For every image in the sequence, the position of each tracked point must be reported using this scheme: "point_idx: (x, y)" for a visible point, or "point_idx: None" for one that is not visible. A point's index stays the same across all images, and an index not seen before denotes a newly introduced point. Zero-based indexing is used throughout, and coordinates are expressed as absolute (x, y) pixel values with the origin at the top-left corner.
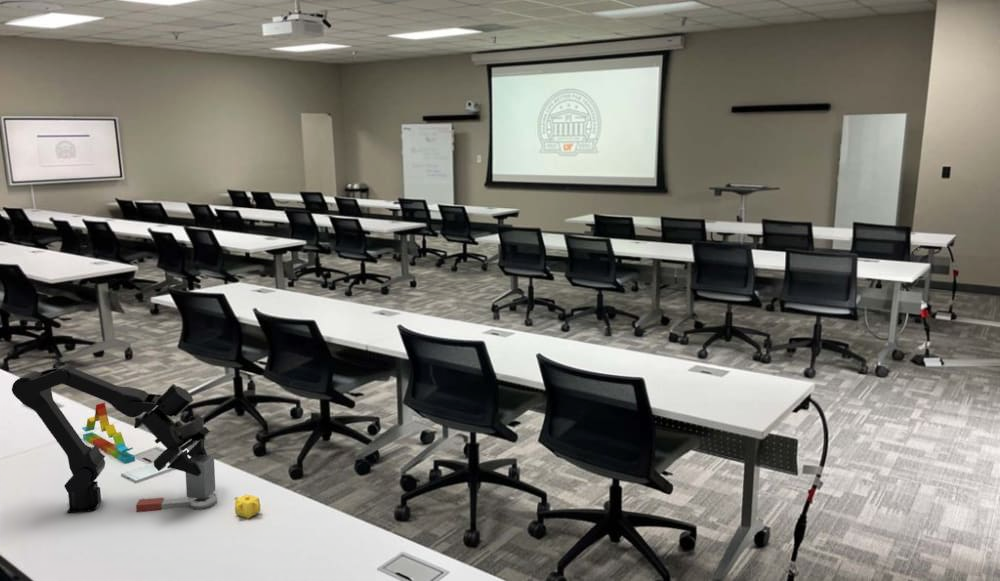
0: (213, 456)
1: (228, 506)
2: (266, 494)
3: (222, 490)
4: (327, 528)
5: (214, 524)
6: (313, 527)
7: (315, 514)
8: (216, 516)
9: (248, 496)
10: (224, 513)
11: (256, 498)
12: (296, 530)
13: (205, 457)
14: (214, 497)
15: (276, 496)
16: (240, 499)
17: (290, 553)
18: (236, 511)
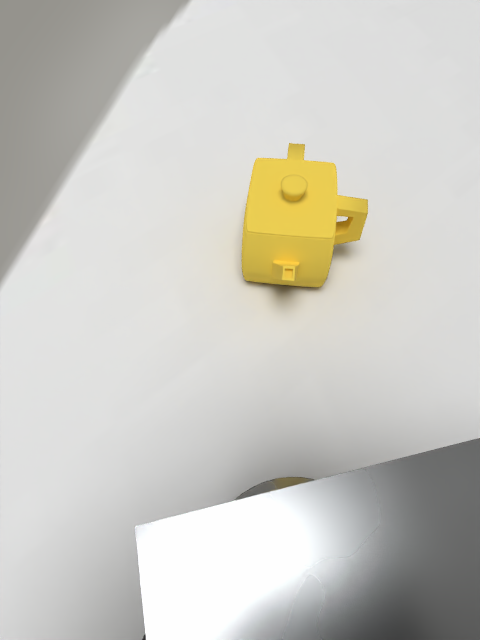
0: (155, 523)
1: (254, 392)
2: (68, 304)
3: (70, 605)
4: (252, 15)
5: (438, 322)
6: (264, 41)
7: (183, 71)
8: (373, 371)
9: (292, 176)
10: (328, 356)
11: (267, 162)
12: (304, 64)
13: (308, 624)
14: (266, 487)
15: (79, 252)
16: (314, 220)
17: (422, 20)
18: (360, 234)
